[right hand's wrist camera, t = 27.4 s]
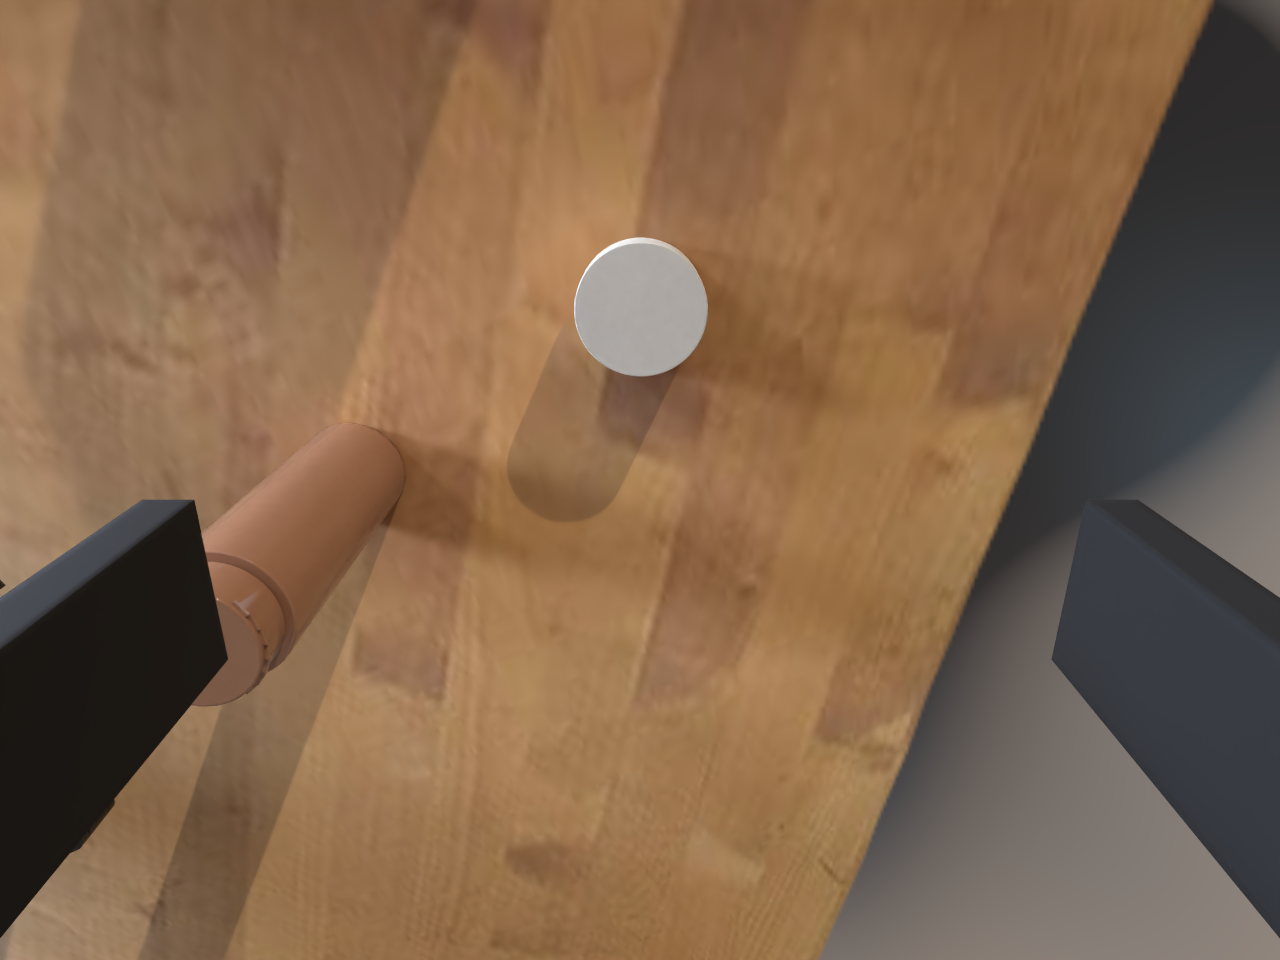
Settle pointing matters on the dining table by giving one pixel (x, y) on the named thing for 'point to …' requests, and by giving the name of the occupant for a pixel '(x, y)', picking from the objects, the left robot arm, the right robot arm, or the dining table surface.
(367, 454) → the jar
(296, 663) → the dining table surface
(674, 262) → the lid
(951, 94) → the dining table surface
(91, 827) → the left robot arm
